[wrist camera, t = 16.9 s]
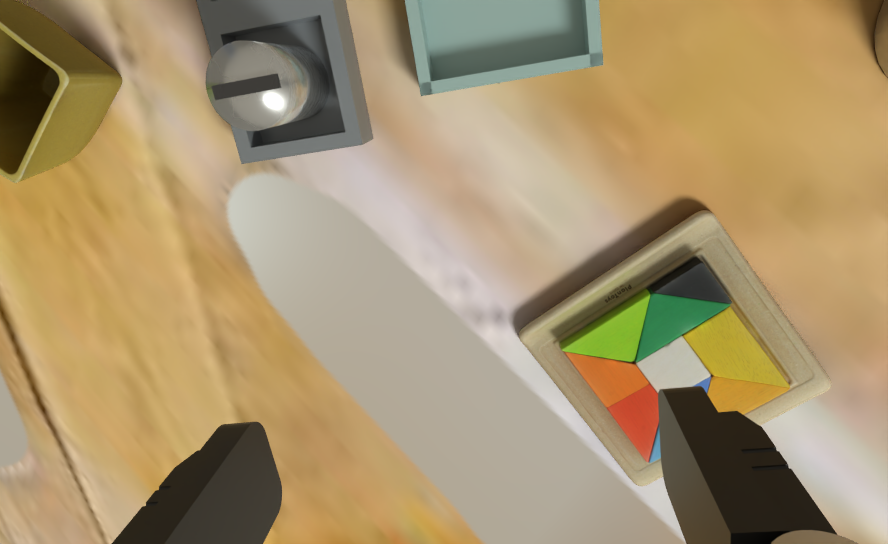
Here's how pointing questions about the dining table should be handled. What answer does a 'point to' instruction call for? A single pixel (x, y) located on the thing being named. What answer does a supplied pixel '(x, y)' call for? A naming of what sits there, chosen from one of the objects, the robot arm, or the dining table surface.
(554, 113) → the dining table surface
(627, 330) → the wooden puzzle
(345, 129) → the tray
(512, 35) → the tray
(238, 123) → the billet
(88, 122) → the flower pot
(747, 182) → the dining table surface
